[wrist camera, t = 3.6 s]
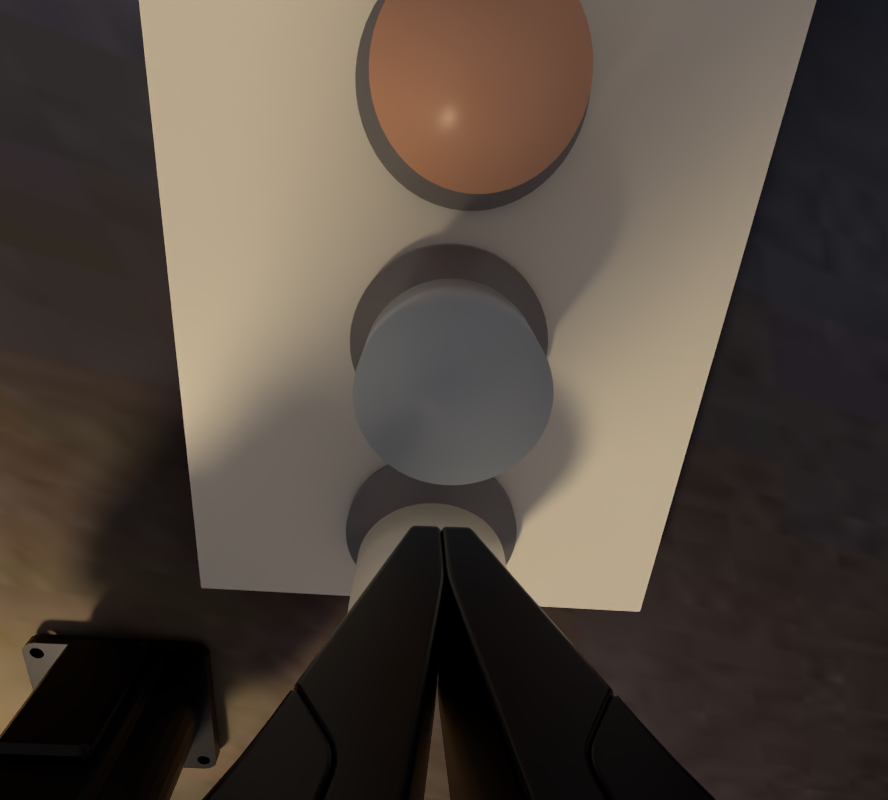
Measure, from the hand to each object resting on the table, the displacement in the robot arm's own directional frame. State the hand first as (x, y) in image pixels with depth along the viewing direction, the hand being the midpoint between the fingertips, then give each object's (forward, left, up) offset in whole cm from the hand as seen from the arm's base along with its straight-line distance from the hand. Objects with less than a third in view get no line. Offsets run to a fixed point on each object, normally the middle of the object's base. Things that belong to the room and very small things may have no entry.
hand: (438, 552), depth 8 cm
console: (+4, 0, -10) cm, 10 cm away
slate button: (+1, 0, -6) cm, 6 cm away
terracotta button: (+7, 0, -7) cm, 10 cm away
